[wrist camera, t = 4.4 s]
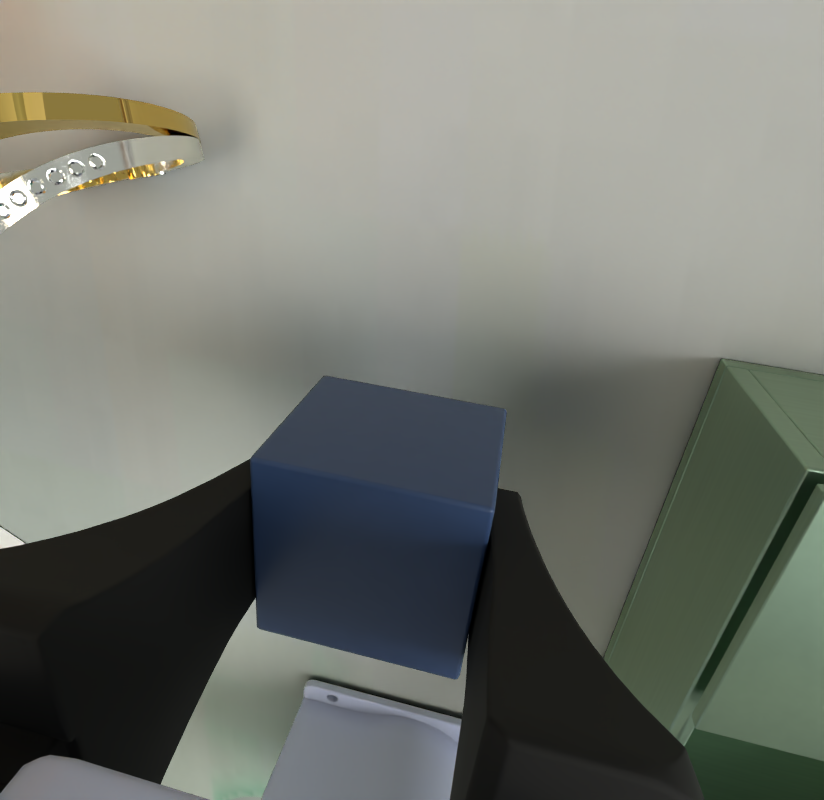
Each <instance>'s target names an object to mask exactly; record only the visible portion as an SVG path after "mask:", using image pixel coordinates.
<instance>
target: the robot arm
mask: <svg viewBox="0 0 824 800" xmlns="http://www.w3.org/2000/svg"><path fill="white" fill-rule="evenodd" d="M255 598H256V590H255V567H254V544H253V520H252V497H251V474H250V459H249V460H247V461H245V462H244V463H242V464H240V465H238V466H236V467H234V468H232V469H231V470H229V471H227V472H225V473H223V474H221V475H219V476H218V477H216V478H214V479H212V480H210V481H208V482H206V483H203V484H201V485H199V486H197V487H195V488H193V489H191V490H189V491H187V492H185V493H183V494H181V495H179V496H176V497H174V498H172V499H170V500H167V501H165V502H163V503H160V504H158V505H155V506H153V507H150V508H147V509H145V510H142V511H140V512H137V513H134V514H132V515H129V516H126V517H123V518H120V519H117V520H113V521H110V522H107V523H104V524H101V525H97V526H94V527H91V528H88V529H84V530H81V531H77V532H74V533H70V534H66V535H62V536H58V537H54V538H50V539H46V540H41V541H37V542H32V543H28V544H23V545H18V546H13V547H8V548H2V549H0V800H208V799H205V798H202V797H199V796H195V795H192V794H189V793H186V792H183V791H179V790H176V789H173V788H170V787H166V786H163V785H160V784H161V782H162V779H163V777H164V775H165V772H166V770H167V768H168V766H169V764H170V761H171V759H172V757H173V755H174V753H175V750H176V748H177V746H178V744H179V742H180V739H181V737H182V735H183V733H184V731H185V728H186V726H187V724H188V722H189V720H190V718H191V716H192V713H193V711H194V709H195V707H196V705H197V703H198V701H199V699H200V697H201V695H202V693H203V691H204V689H205V687H206V684H207V682H208V680H209V678H210V676H211V674H212V672H213V670H214V668H215V666H216V665H217V663H218V661H219V659H220V657H221V655H222V653H223V651H224V649H225V647H226V645H227V643H228V641H229V639H230V638H231V636H232V634H233V632H234V631H235V629H236V627H237V626H238V624H239V622H240V621H241V619H242V618H243V616H244V615H245V613H246V612H247V610H248V608H249V607H250V605H251V604H252V602H253V601H254V599H255ZM261 800H705V799H704V796H703V793H702V790H701V788H700V785H699V782H698V779H697V777H696V774H695V771H694V769H693V766H692V763H691V761H690V758H689V755H688V753H687V750H686V748H685V747H684V746H683V745H682V744H681V743H680V742H679V741H678V740H677V739H676V738H675V737H674V736H673V735H672V734H671V733H670V732H669V731H668V730H667V729H666V728H665V727H664V726H663V725H662V724H661V723H660V722H659V721H658V720H657V719H656V718H655V717H654V716H653V715H652V714H651V713H650V712H649V711H648V710H647V709H646V708H645V707H644V706H643V705H642V704H641V703H640V702H639V700H638V699H637V698H636V697H635V696H634V695H633V694H632V693H631V691H630V690H629V689H628V688H627V687H626V686H625V685H624V684H623V682H622V681H621V680H620V679H619V678H618V677H617V676H616V674H615V673H614V672H613V670H612V669H611V668H610V667H609V665H608V664H607V663H606V661H605V660H604V659H603V658H602V656H601V655H600V654H599V652H598V651H597V650H596V649H595V647H594V646H593V645H592V643H591V642H590V640H589V639H588V638H587V636H586V635H585V633H584V632H583V630H582V629H581V627H580V626H579V624H578V623H577V621H576V620H575V618H574V616H573V615H572V613H571V612H570V610H569V608H568V607H567V605H566V603H565V602H564V600H563V598H562V596H561V595H560V593H559V591H558V589H557V587H556V585H555V583H554V582H553V580H552V578H551V576H550V574H549V572H548V570H547V568H546V565H545V563H544V561H543V559H542V557H541V554H540V552H539V550H538V547H537V545H536V543H535V540H534V538H533V535H532V533H531V530H530V527H529V524H528V521H527V518H526V515H525V512H524V508H523V504H522V500H521V497H520V495H519V494H518V492H514V491H509V490H504V489H500V488H498V489H497V497H496V506H495V513H494V517H493V522H492V527H491V531H490V536H489V541H488V545H487V550H486V555H485V559H484V564H483V569H482V573H481V578H480V583H479V587H478V592H477V597H476V601H475V606H474V611H473V615H472V620H471V625H470V629H469V636H468V655H467V674H466V688H465V699H464V707H463V714H462V719H459V718H456V717H452V716H448V715H445V714H441V713H437V712H433V711H430V710H426V709H422V708H418V707H415V706H411V705H407V704H404V703H400V702H396V701H392V700H389V699H385V698H381V697H377V696H374V695H370V694H366V693H363V692H359V691H355V690H351V689H348V688H344V687H340V686H336V685H333V684H329V683H325V682H322V681H318V680H309V681H307V682H306V685H305V687H304V698H303V700H302V703H301V705H300V707H299V710H298V712H297V714H296V717H295V719H294V722H293V724H292V726H291V729H290V731H289V734H288V736H287V738H286V741H285V743H284V746H283V748H282V750H281V753H280V755H279V758H278V760H277V762H276V765H275V767H274V769H273V772H272V774H271V777H270V779H269V781H268V784H267V786H266V789H265V791H264V793H263V796H262V798H261Z"/></svg>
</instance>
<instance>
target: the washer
mask: <svg viewBox="0 0 824 800" xmlns="http://www.w3.org/2000/svg"><path fill="white" fill-rule="evenodd" d="M603 659H604V660H605V661H606V663H607V664H608V665H609V667H610V668H611V669H612V670H613V672H614V673H615V674H616V676H617V677H618V678H619V679H620V680H621V681H622V682H623V684H624V685H625V686H626V687H627V688H628V689H629V690H630V691H631V693H632V694H633V695H634V696H635V697H636V698H637V699H638V700H639V702H640V703H641V704H642V705H643V706H644V707H645V708H646V709H647V710H648V711H649V712H650V713H651V714H652V715H653V716H654V717H655V718H656V719H657V720H658V721H659V722H660V723H661V724H662V725H663V726H664V727H665V728H666V729H667V730H668V731H669V732H670V733H671V734H672V735H673V736H674V737H675V738H676V739H677V740H678V741H679V742H680V743H681V744H682V745H683V746H684V747H685V748H686V750H687V753H688V755H689V758H690V761H691V763H692V766H693V769H694V771H695V774H696V777H697V779H698V782H699V785H700V788H701V790H702V793H703V796H704V799H705V800H824V375H818V374H812V373H806V372H800V371H794V370H788V369H782V368H776V367H770V366H764V365H757V364H751V363H745V362H739V361H733V360H727V359H721V361H720V363H719V366H718V368H717V371H716V373H715V376H714V378H713V381H712V383H711V386H710V389H709V391H708V394H707V396H706V399H705V401H704V404H703V406H702V409H701V411H700V414H699V417H698V419H697V422H696V424H695V427H694V429H693V432H692V434H691V437H690V439H689V442H688V445H687V447H686V450H685V452H684V455H683V457H682V460H681V462H680V465H679V467H678V470H677V473H676V475H675V478H674V480H673V483H672V485H671V488H670V490H669V493H668V495H667V498H666V501H665V503H664V506H663V508H662V511H661V513H660V516H659V518H658V521H657V523H656V526H655V528H654V531H653V534H652V536H651V539H650V541H649V544H648V546H647V549H646V551H645V554H644V556H643V559H642V562H641V564H640V567H639V569H638V572H637V574H636V577H635V579H634V582H633V584H632V587H631V590H630V592H629V595H628V597H627V600H626V602H625V605H624V607H623V610H622V612H621V615H620V618H619V620H618V623H617V625H616V628H615V630H614V633H613V635H612V638H611V640H610V643H609V646H608V648H607V651H606V653H605V656H604V658H603Z"/></svg>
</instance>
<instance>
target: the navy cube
mask: <svg viewBox="0 0 824 800" xmlns="http://www.w3.org/2000/svg"><path fill="white" fill-rule="evenodd" d="M506 415H507V412H506V410H505V409H503V408H498V407H492V406H487V405H482V404H476V403H471V402H465V401H460V400H455V399H449V398H444V397H438V396H433V395H428V394H422V393H417V392H411V391H406V390H401V389H395V388H390V387H385V386H379V385H374V384H368V383H363V382H358V381H352V380H347V379H341V378H336V377H331V376H323V377H322V378H321V379H320V380H319V381H318V383H317V384H316V385H315V386H314V387H313V388H312V389H311V390H310V392H309V393H308V394H307V395H306V396H305V397H304V398H303V399H302V401H301V402H300V403H299V404H298V405H297V406H296V407H295V408H294V410H293V411H292V412H291V413H290V414H289V415H288V416H287V417H286V419H285V420H284V421H283V422H282V423H281V424H280V425H279V426H278V428H277V429H276V430H275V431H274V432H273V433H272V434H271V435H270V437H269V438H268V439H267V440H266V441H265V442H264V443H263V444H262V446H261V447H260V448H259V449H258V450H257V451H256V452H255V453H254V455H253V456H252V457H251V459H250V474H251V497H252V520H253V544H254V567H255V590H256V614H257V627H258V628H259V629H261V630H265V631H269V632H273V633H277V634H281V635H285V636H289V637H292V638H296V639H300V640H304V641H308V642H312V643H316V644H320V645H323V646H327V647H331V648H335V649H339V650H343V651H347V652H351V653H354V654H358V655H362V656H366V657H370V658H374V659H378V660H382V661H385V662H389V663H393V664H397V665H401V666H405V667H409V668H413V669H416V670H420V671H424V672H428V673H432V674H436V675H440V676H444V677H447V678H451V679H458V677H459V676H460V671H461V667H462V662H463V657H464V653H465V648H466V643H467V639H468V634H469V629H470V625H471V620H472V615H473V611H474V606H475V601H476V597H477V592H478V587H479V583H480V578H481V573H482V569H483V564H484V559H485V555H486V550H487V545H488V541H489V536H490V531H491V527H492V522H493V517H494V513H495V506H496V497H497V489H498V481H499V473H500V464H501V456H502V448H503V440H504V431H505V423H506Z"/></svg>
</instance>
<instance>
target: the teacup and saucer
mask: <svg viewBox="0 0 824 800" xmlns="http://www.w3.org/2000/svg"><path fill="white" fill-rule="evenodd" d="M23 544H25V543H24V542H22V541H21V540H19V539H18V538H16V537H15V536H13V535H12V534H10V533H9V532H7V531H6V530H4V529H3V528H1V527H0V549H2V548H8V547H13V546H18V545H23Z"/></svg>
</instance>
